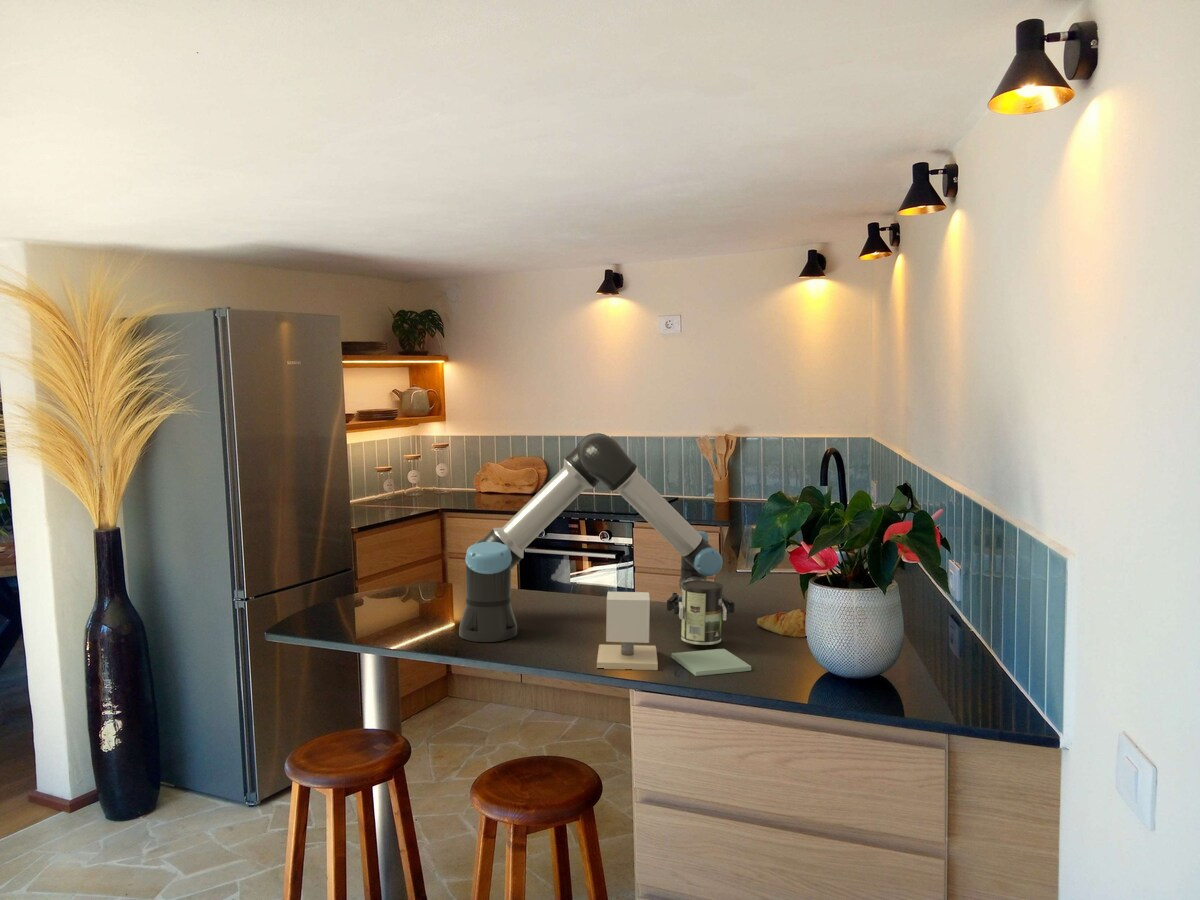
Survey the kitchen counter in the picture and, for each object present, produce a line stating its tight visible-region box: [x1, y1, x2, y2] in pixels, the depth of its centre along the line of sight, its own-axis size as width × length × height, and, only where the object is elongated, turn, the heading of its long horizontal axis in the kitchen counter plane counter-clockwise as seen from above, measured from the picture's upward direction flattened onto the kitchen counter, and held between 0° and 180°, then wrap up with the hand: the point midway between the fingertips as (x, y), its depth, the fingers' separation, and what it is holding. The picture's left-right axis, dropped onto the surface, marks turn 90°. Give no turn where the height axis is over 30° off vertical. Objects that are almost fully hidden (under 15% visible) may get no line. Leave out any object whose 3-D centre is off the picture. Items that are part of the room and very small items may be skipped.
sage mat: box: [671, 648, 752, 677], centre depth 196 cm, size 14×14×1 cm
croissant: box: [756, 608, 807, 638], centre depth 222 cm, size 21×10×8 cm, turn 61°
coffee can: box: [680, 580, 724, 646], centre depth 210 cm, size 10×10×14 cm
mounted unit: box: [596, 591, 659, 671], centre depth 197 cm, size 14×14×16 cm
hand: (703, 614), depth 205 cm, fingers closed on coffee can, 10 cm apart
